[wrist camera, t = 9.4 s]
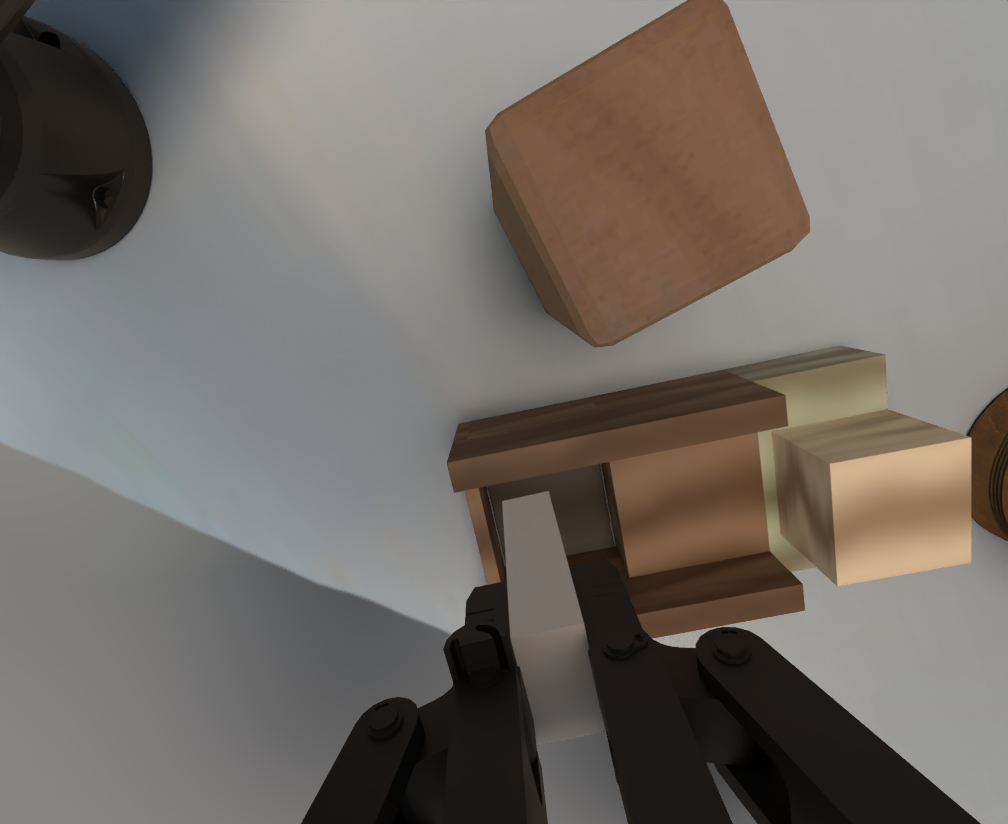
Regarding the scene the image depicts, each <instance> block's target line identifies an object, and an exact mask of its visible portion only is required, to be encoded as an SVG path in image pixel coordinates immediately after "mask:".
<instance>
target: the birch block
mask: <svg viewBox="0 0 1008 824" xmlns="http://www.w3.org/2000/svg"><path fill="white" fill-rule="evenodd" d="M771 432H772V444H773V455H774V466H775V478H776V489H777V500H778V512H779V523H780V534H781V535H782V536H783V537H784V538H785V539H786V540H787V541H788V542H790V543H791V544H792V545H793V546H794V547H795V548H796V549H797V550H798V551H799V552H800V553H802V554H803V555H804V556H805V557H806V558H807V559H808V560H809V561H810V562H811V563H813V564H814V565H815V566H816V567H817V568H818V569H819V570H820V571H821V572H822V573H824V574H825V575H826V576H827V577H828V578H829V579H830V580H831V581H832V582H833V583H834V584H836V585H837V586H842V585H848V584H853V583H859V582H865V581H870V580H876V579H882V578H887V577H893V576H899V575H904V574H910V573H916V572H921V571H927V570H932V569H938V568H944V567H949V566H955V565H961V564H966V563H971V437H968V436H965V435H962V434H959V433H957V432H954V431H951V430H948V429H945V428H942V427H939V426H936V425H933V424H930V423H927V422H924V421H921V420H918V419H915V418H912V417H909V416H906V415H903V414H900V413H897V412H894V411H891V410H888V409H886V410H880V411H875V412H870V413H865V414H859V415H854V416H849V417H843V418H838V419H833V420H828V421H822V422H817V423H812V424H807V425H801V426H796V427H791V428H786V429H780V430H775V431H771Z"/></svg>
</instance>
